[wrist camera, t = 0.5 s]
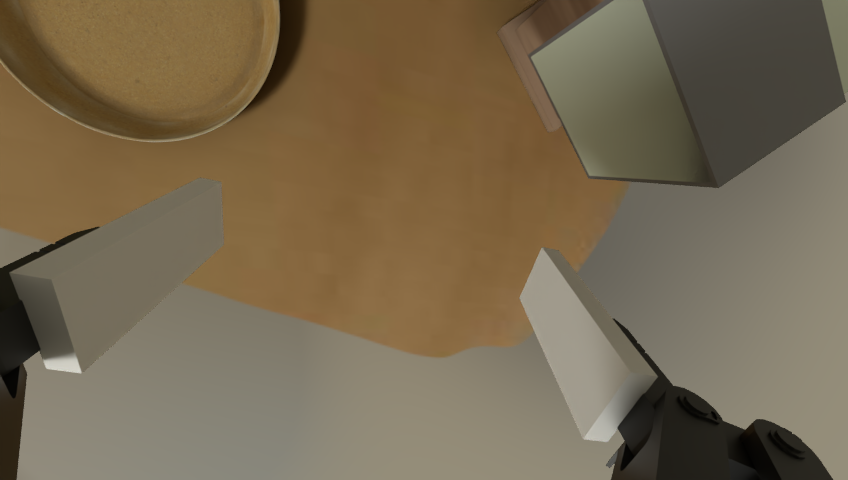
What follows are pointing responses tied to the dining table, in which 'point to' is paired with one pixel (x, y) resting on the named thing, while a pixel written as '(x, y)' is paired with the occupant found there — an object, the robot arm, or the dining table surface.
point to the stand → (531, 30)
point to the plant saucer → (141, 61)
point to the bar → (693, 83)
